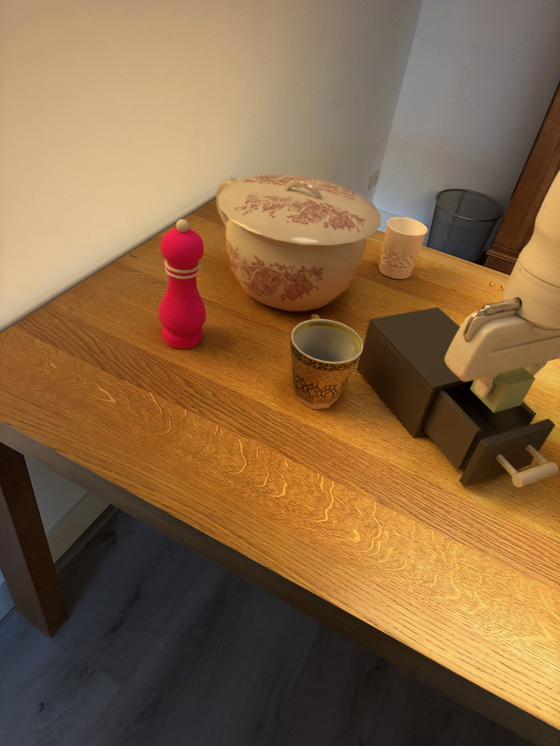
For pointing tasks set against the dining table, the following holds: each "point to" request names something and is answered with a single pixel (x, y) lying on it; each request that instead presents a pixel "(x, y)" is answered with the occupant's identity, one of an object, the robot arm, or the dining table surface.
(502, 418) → the dark brown drawer
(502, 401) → the block
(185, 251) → the pepper mill
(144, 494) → the dining table surface
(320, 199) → the chamber pot
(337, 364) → the ceramic cup
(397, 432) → the dining table surface
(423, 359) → the drawer box
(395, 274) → the white cup
